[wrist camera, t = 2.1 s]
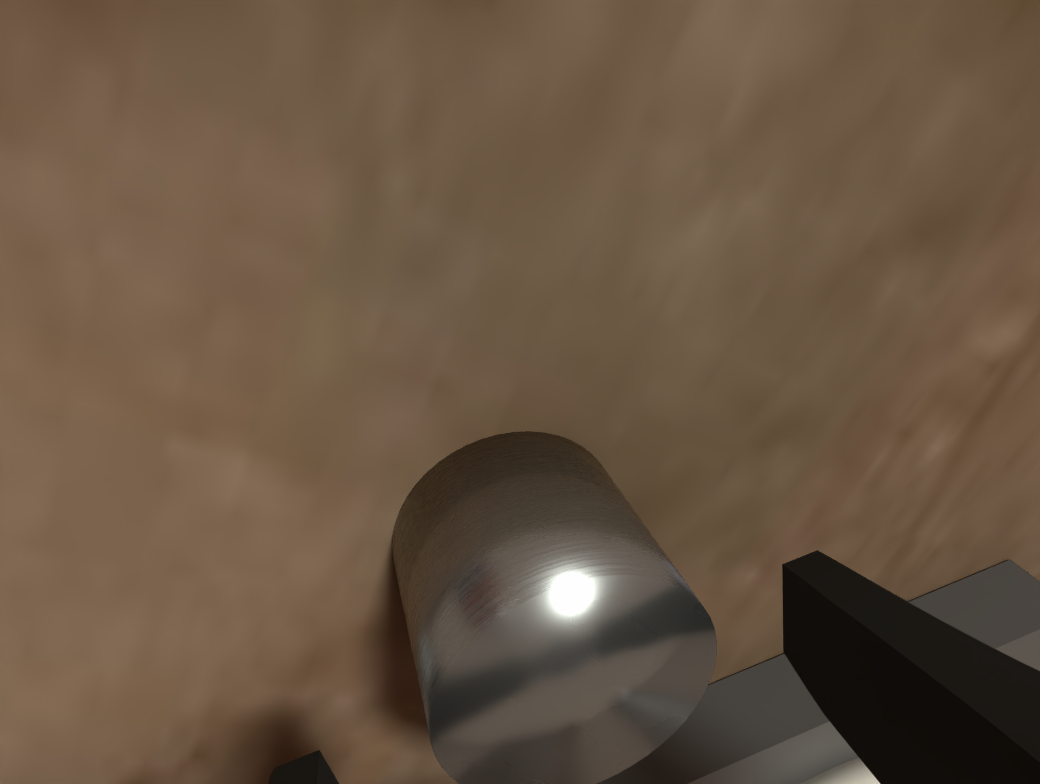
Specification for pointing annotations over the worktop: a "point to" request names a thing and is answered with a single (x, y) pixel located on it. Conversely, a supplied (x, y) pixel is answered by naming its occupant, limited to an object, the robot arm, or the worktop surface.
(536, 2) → the worktop surface
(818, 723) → the kitchen scale
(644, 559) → the cylinder
